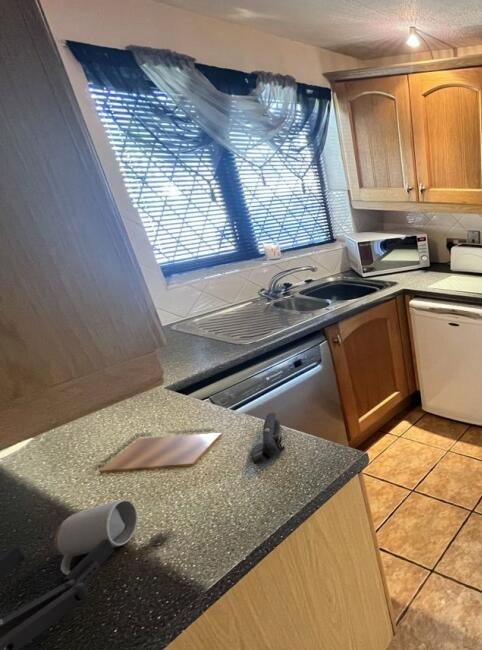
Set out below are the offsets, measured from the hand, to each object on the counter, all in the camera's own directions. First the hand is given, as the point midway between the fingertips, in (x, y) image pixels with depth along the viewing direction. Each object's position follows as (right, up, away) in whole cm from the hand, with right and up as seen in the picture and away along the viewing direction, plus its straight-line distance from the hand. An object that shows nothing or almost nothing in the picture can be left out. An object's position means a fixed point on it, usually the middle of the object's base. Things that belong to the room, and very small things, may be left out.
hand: (64, 548), depth 63 cm
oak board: (-11, +5, +30) cm, 32 cm away
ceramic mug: (0, -4, +6) cm, 8 cm away
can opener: (+14, +6, +33) cm, 36 cm away
